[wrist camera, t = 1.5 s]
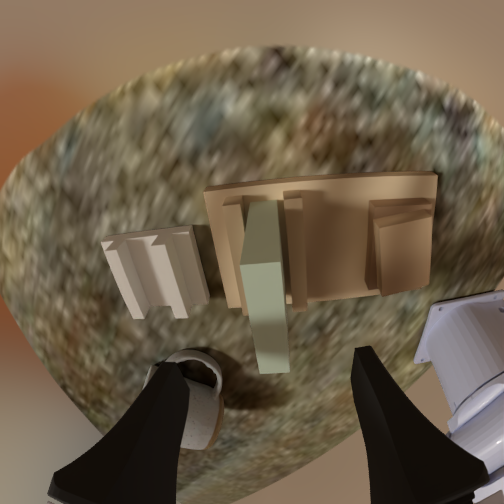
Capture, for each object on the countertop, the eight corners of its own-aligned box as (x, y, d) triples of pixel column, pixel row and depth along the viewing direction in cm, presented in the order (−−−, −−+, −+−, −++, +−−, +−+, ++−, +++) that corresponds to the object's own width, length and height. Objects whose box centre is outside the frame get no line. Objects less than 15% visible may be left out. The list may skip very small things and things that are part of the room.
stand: (192, 225, 20) (182, 242, 18) (209, 295, 23) (204, 317, 21) (106, 236, 21) (91, 252, 19) (131, 299, 24) (120, 318, 21)
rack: (430, 171, 17) (449, 182, 15) (416, 281, 21) (428, 300, 19) (206, 186, 19) (197, 200, 16) (230, 299, 23) (226, 321, 21)
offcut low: (423, 197, 17) (432, 204, 16) (413, 274, 20) (419, 283, 19) (368, 200, 17) (374, 207, 16) (364, 280, 20) (368, 290, 19)
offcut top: (423, 209, 16) (431, 216, 15) (422, 274, 18) (428, 284, 17) (372, 219, 17) (379, 228, 16) (377, 285, 19) (382, 296, 18)
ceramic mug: (209, 408, 32) (200, 464, 25) (143, 386, 30) (125, 441, 24) (243, 360, 27) (237, 431, 20) (160, 331, 26) (135, 399, 19)
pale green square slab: (276, 199, 18) (280, 261, 12) (285, 293, 21) (289, 372, 15) (250, 202, 18) (239, 265, 12) (263, 295, 21) (260, 373, 15)
